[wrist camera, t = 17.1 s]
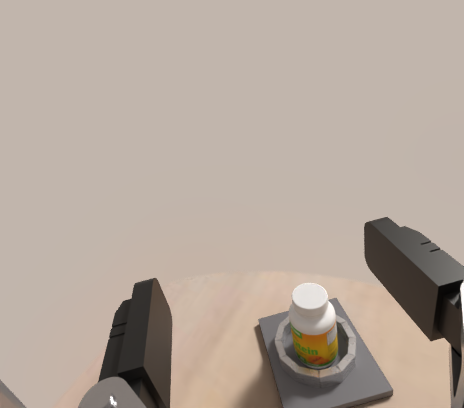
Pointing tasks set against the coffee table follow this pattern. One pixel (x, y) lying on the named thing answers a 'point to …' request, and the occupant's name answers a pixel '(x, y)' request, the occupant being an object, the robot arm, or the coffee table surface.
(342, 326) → the stone collar
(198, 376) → the coffee table surface
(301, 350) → the supplement bottle
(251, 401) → the coffee table surface
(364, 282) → the coffee table surface
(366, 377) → the base plate
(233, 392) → the coffee table surface
